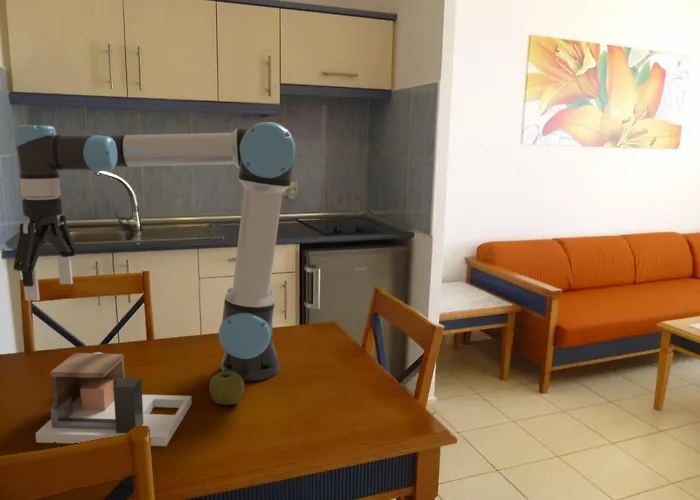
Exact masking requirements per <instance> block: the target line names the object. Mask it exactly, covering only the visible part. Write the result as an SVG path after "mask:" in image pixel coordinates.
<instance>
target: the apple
mask: <svg viewBox="0 0 700 500" xmlns="http://www.w3.org/2000/svg"><path fill="white" fill-rule="evenodd" d="M208 390H209V393H210V397H211V398H212V400H213V401H214V403H216V404H218V405H221V406H222V405H223V406H232V405H236V404H237V403H238V402H239V401H240V400H241V399H242V397H243V395H244V392H245V381H243V379H242V377H241V376H240V375H239V374H237V373H235V372H232V371H224V372H222V371H220V372H217V373H215V374H214V375H213V376H212V377H211V379H210V381H209V389H208Z"/></svg>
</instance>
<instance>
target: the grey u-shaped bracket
mask: <svg viewBox="0 0 700 500" xmlns="http://www.w3.org/2000/svg"><path fill="white" fill-rule="evenodd" d="M142 387H143V386H142V378H127V377H125V378H121V379H120V380H119V381H118V383H117V384H116V385H115V386H114V387H113V388H114V404H115V419H92V418H69V417H70V416H71V415H72V414H73V405H72V396H65V397H64V398H63V399H62V400H61V401H60V402H59V403H57V404H56V405H55V406H54V407H53V406H52V408H50V419H51V422H52V428H75V429H109V430H116V433H128V432H129V431H130V430H131V429H132V428H134V427H136V426H142V425H143V404H142V395H143V390H142Z"/></svg>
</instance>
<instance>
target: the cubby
mask: <svg viewBox="0 0 700 500" xmlns="http://www.w3.org/2000/svg"><path fill="white" fill-rule="evenodd" d="M99 353H100V352H93V353H92V352H89V353H88V352H74V353H73V354H72V355H70V356H69V357H68V358H66V359H65V360H63V362H61V363H60V364H58V365H57V366H56V367H55V368H53V369H52V370H51V371H50V383H51V395H52V408H53V407H54V406H55V405H56V404H57V403H59V402H60V401H61V400H62V399H63V398H64V397H65V396H72V403H73V402H74V401H75V400H77V399H78V398H79V397H80V396H81V388H82V387H83V386H84V385H85V384H86V383H87V382H88V381H89V380H90V379H114V386H115V385H116V384H117V383H118V381H119V380H120V379H121V378H126V376H125V375H126V373H125V357H124V355H125V354H124V353H104V354H99Z"/></svg>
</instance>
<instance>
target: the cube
mask: <svg viewBox="0 0 700 500" xmlns="http://www.w3.org/2000/svg"><path fill="white" fill-rule="evenodd" d="M113 387H114V379H90V380H89V381H88V382H87V383H86V384H85V385H84V386H83V387H82V388H81V402H82V410H103V411H105V410H106V409H107V408H108V407H109V406H110V405H111V404H112V402H113V401H114V388H113Z"/></svg>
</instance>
